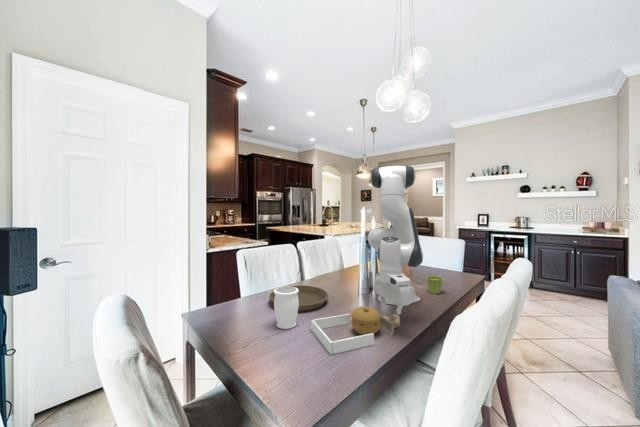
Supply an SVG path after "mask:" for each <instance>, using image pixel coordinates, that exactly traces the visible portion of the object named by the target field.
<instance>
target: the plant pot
mask: <svg viewBox="0 0 640 427" xmlns="http://www.w3.org/2000/svg"><path fill="white" fill-rule="evenodd" d="M425 279H426V282H427V286H428V292H429V293H430V294H433V295H438V294H441V292H442V285H443V281H444V278H443V277H441V276H437V275H427V276H426V277H425Z"/></svg>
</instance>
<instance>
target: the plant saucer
mask: <svg viewBox="0 0 640 427" xmlns="http://www.w3.org/2000/svg"><path fill="white" fill-rule="evenodd" d="M287 287H296V288H298V293H297V294H298V300H299V307H298V313H299V312H300V313H301V312H309V311H312V310H317V309H319V308H320V307H322V306H323V305H324V304H325V302H326V301H327V300H328V298H329V293H328V291H326V290H325V289H323V288H321V287H316V286H312V285H303V284H302V285H290V286H289V285H288V286H287ZM268 298H269V301H270V302H271V303H272V304H273V305H274V298H275V294H274V290H273V291H272V292H270V293H269V296H268Z"/></svg>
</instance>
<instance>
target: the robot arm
mask: <svg viewBox="0 0 640 427" xmlns="http://www.w3.org/2000/svg"><path fill="white" fill-rule="evenodd" d="M416 176H417V174H416V171H415V167H413V166H410V165H389V166H382V167H380V166H379V167H378V166H377V167H374V168H373V169H372V170H371V172H370V174H369V181H370V184H371V186H372V187H373V188H376V189H380V191H379V192H380V193H379V194H380V195H379V204H380V209H381V215H380V216H381V217H382V218H383V220H385V221H387V222H389V223H390V224H391V227H377V228H372V229H371V230H369V232H368V235H367V242H368V244H369V245H370V247H371V248H373V249H374V250H375V251H376V253H377V259H378V261H379V262H380V265H379V271H378V272H377V273H376V274H375V278H374V282H373V291H374V293H375V294H377V295H378V297H377V300H378V301H379V302H380V303H381V304H380V305H381V306H382V307H387V304H388V305H393V306H394V305H395V306H397V308H395V309H394V311H395V312H394V314H396V315H401V314H402V309H403V307H405V306H409V305H410V304H414V303H417V302H420V301H421V298H420V297H419V296H417V295H416V291H415V290H416V289H415V287H413V286H412V285H411V283H412V282H411V279H410V278H409V277H410V276H409V275H407V274H404V273H403V266H405V267H409V268H417V267H418V266H420V265H421V264H423V260H424V252H423V249H422V246H421V243H420V239H419V233H418V228H417V222H416V219H415V215H414V212H413V209H412V208H411V207H409V206H408V205H407V203H406V196H405V195H406V194H405V190H408V188H410V187H412V186H413V185H414V183H415V182H416V178H417V177H416Z"/></svg>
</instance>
